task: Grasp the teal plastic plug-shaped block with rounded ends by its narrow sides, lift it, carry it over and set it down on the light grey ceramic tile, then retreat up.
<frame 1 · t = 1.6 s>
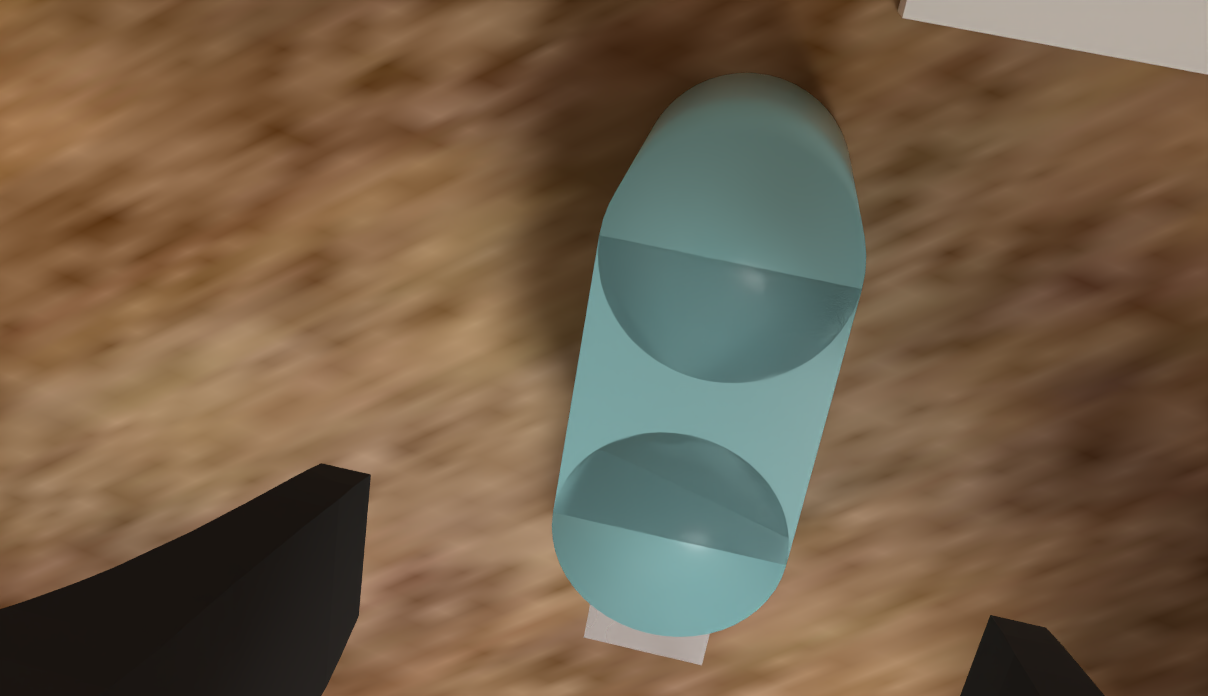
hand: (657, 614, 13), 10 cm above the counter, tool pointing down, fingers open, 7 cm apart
plug block: (717, 299, 22), on the counter
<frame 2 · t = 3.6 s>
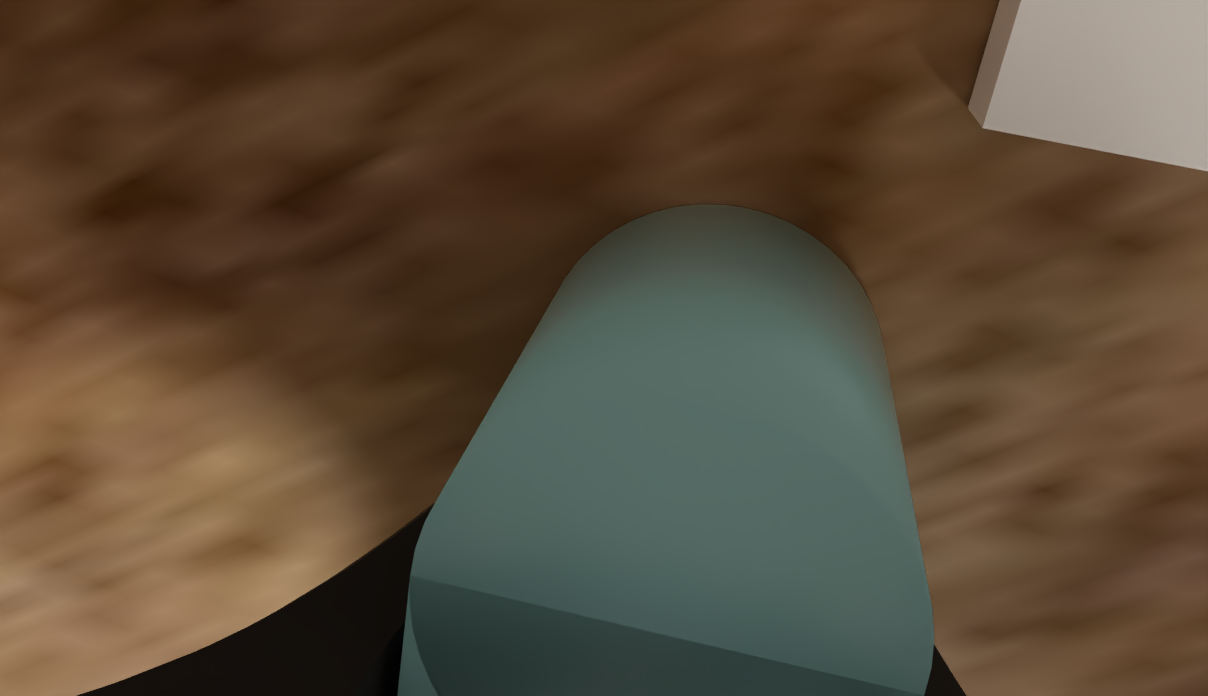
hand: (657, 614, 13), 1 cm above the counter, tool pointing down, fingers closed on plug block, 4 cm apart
plug block: (670, 546, 14), on the counter, touching gripper
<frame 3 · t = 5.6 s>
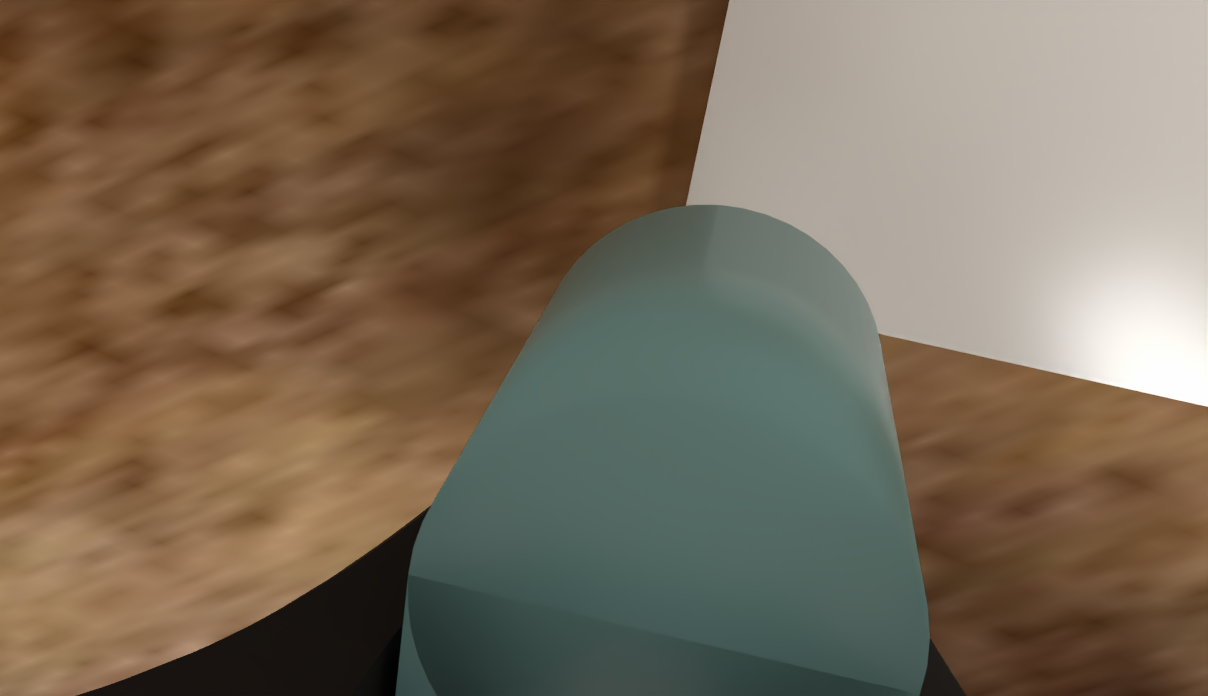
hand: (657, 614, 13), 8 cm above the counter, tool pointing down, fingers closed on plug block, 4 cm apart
plug block: (668, 546, 14), point 7 cm above the counter, touching gripper
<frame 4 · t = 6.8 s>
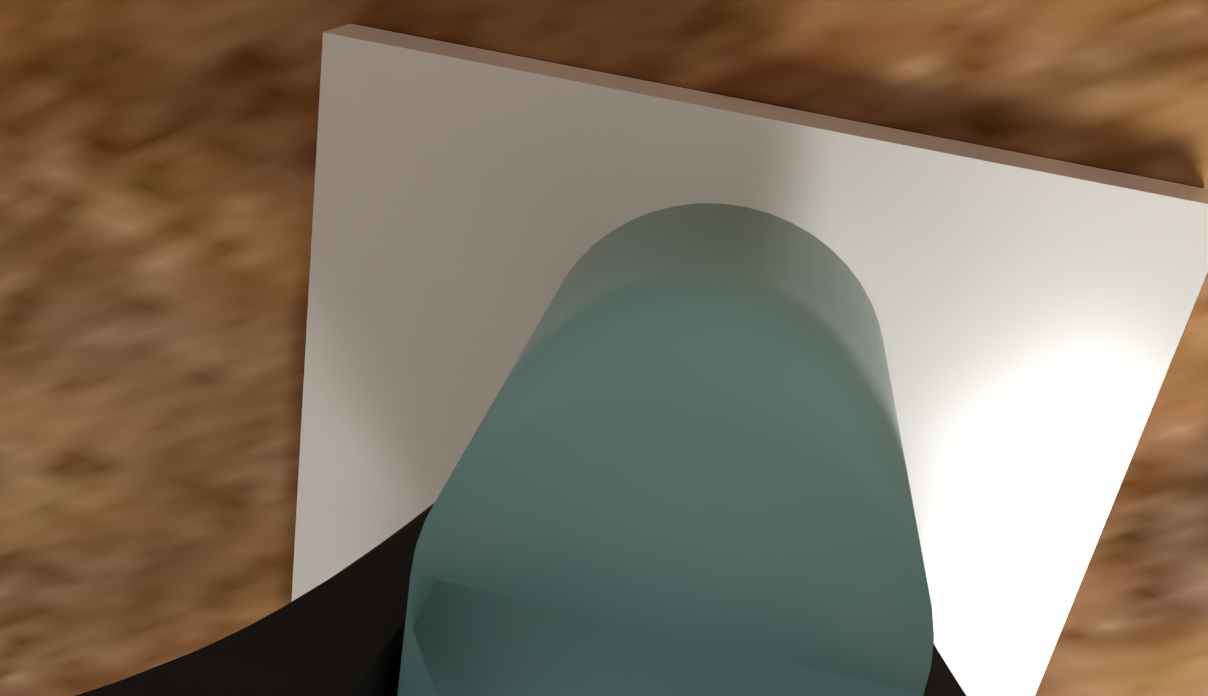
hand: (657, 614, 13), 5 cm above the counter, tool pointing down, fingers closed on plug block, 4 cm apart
tile: (683, 474, 18), on the counter
plug block: (670, 545, 14), point 4 cm above the counter, touching gripper
when the fingers open (3 cm above the counter, at t = 7.9 s): plug block stays where it is, resting on tile.
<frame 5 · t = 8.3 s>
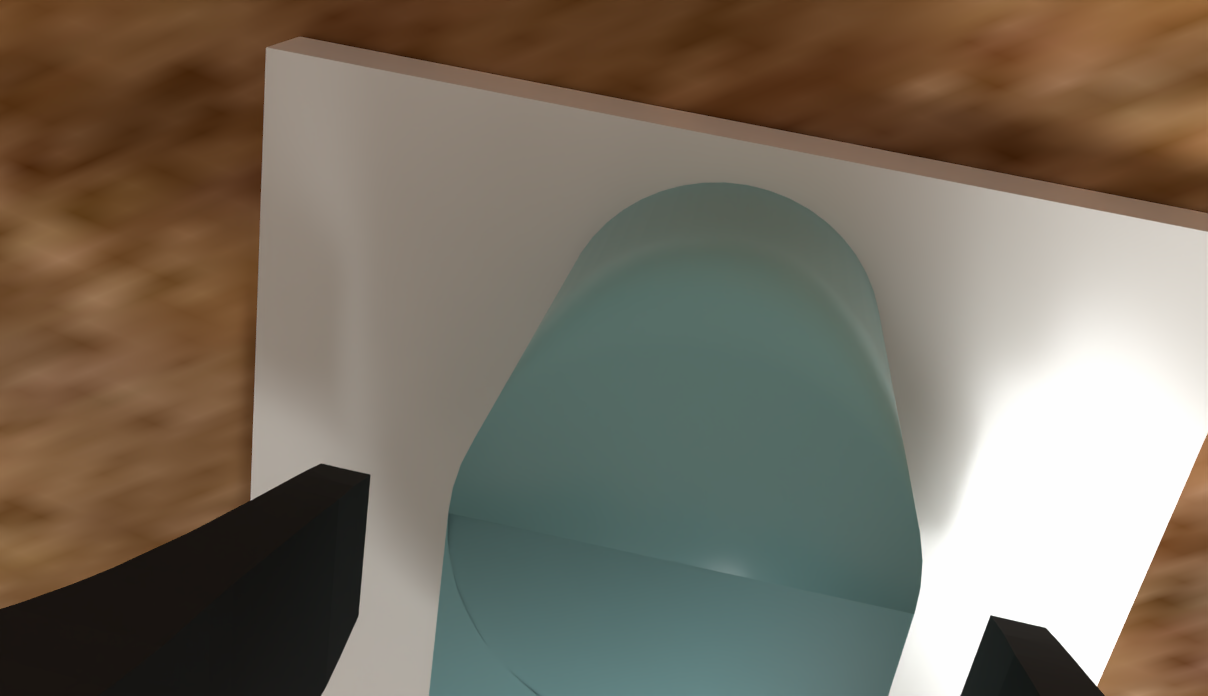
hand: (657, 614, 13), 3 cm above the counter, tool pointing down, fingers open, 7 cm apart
tile: (672, 529, 16), on the counter
plug block: (681, 507, 15), point 1 cm above the counter, touching tile
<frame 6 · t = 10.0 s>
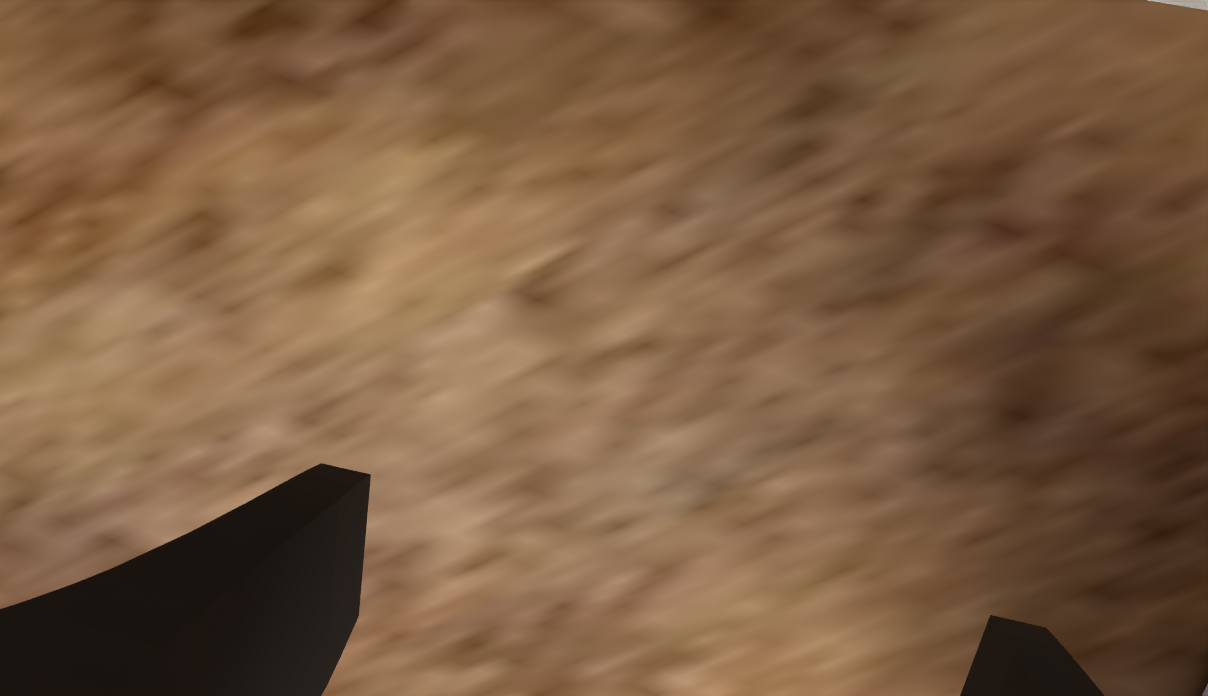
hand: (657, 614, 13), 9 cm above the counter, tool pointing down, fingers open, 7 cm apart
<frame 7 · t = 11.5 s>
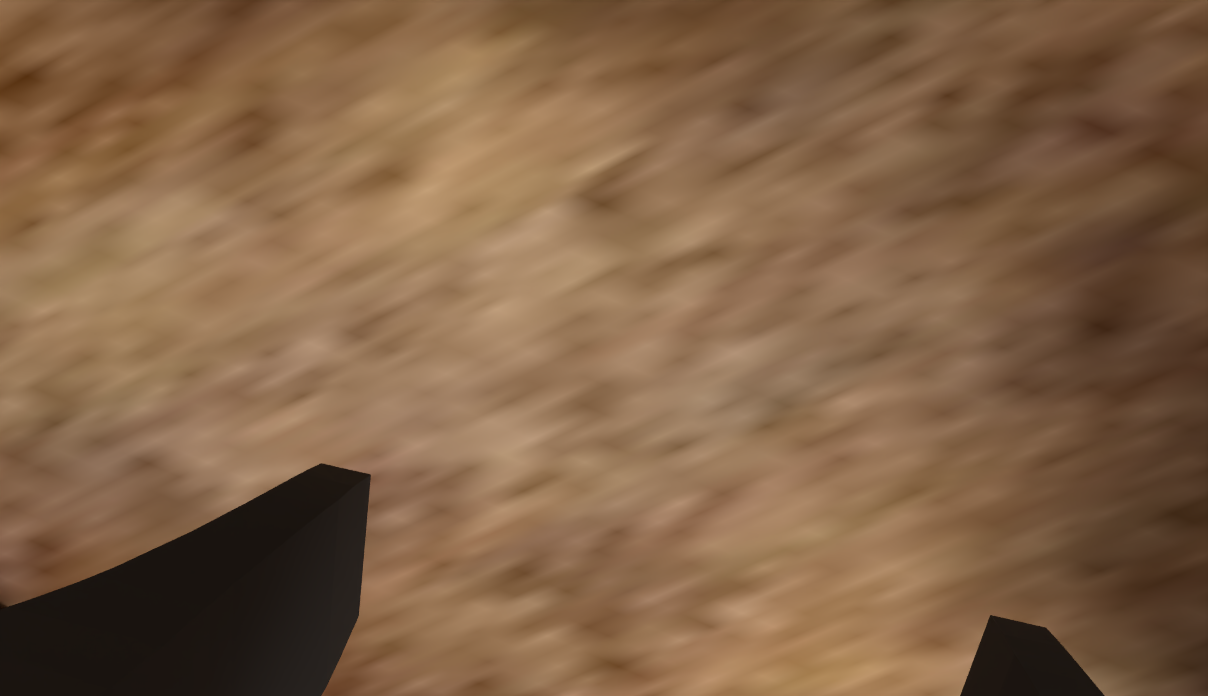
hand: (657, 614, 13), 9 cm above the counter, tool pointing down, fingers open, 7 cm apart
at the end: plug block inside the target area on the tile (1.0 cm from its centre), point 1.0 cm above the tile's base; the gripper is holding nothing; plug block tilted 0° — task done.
